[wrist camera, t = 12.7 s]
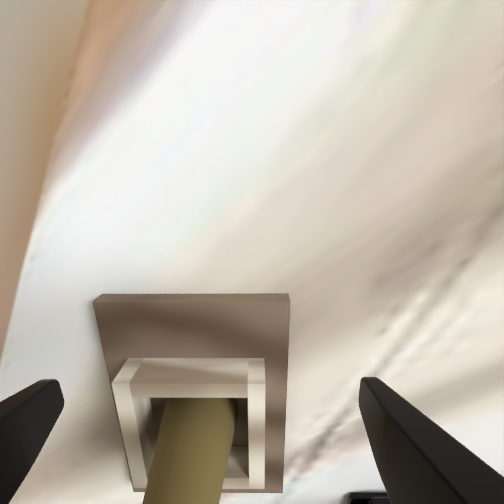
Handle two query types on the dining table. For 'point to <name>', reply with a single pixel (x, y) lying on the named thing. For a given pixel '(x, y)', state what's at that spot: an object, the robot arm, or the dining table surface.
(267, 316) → the socket board
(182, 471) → the olive green rounded peg
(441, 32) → the dining table surface
